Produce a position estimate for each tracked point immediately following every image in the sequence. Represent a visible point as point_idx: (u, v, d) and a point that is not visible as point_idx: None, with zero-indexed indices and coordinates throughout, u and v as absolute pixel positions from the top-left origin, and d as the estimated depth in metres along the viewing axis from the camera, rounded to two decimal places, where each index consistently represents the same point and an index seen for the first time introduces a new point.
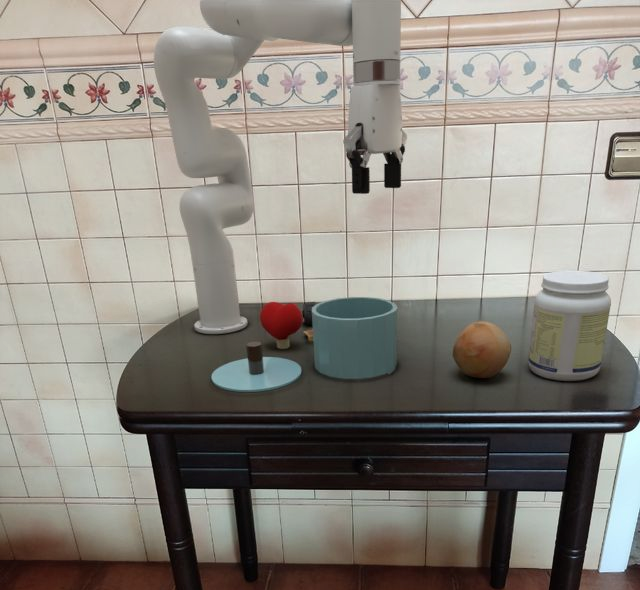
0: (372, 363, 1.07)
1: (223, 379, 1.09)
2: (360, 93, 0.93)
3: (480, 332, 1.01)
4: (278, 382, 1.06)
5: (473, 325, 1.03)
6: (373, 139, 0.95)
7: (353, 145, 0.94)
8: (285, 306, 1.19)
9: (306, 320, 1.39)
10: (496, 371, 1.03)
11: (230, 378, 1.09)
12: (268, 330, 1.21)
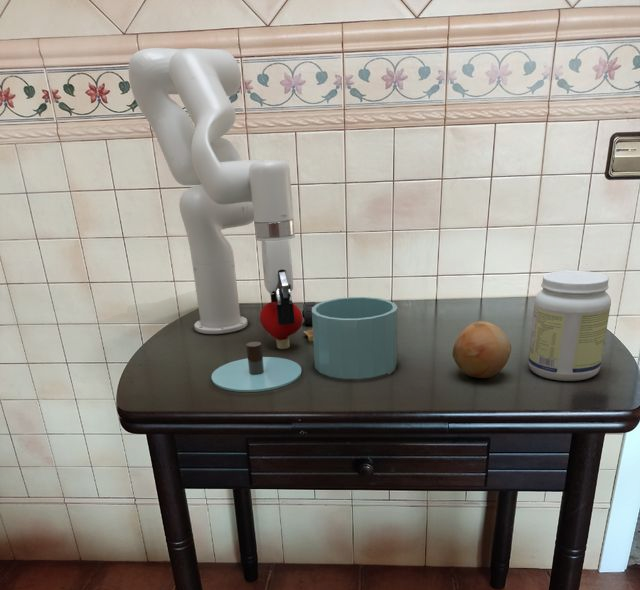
0: (372, 363, 1.07)
1: (223, 379, 1.09)
2: (279, 247, 1.11)
3: (480, 332, 1.01)
4: (278, 382, 1.06)
5: (473, 325, 1.03)
6: (292, 280, 1.15)
7: None
8: None
9: (306, 320, 1.39)
10: (496, 371, 1.03)
11: (230, 378, 1.09)
12: (268, 330, 1.21)
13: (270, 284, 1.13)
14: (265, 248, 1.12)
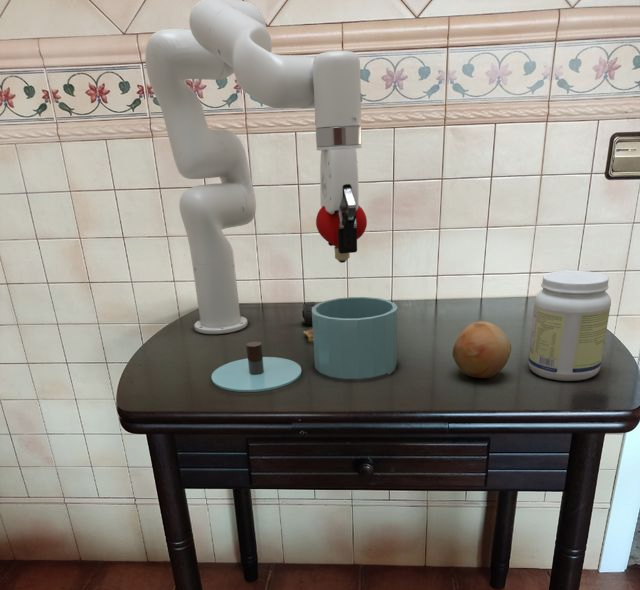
0: (372, 363, 1.07)
1: (223, 379, 1.09)
2: (345, 156, 0.96)
3: (480, 332, 1.01)
4: (278, 382, 1.06)
5: (473, 325, 1.03)
6: None
7: None
8: None
9: (306, 320, 1.39)
10: (496, 371, 1.03)
11: (230, 378, 1.09)
12: (326, 235, 1.03)
13: (333, 202, 0.98)
14: (328, 158, 0.96)
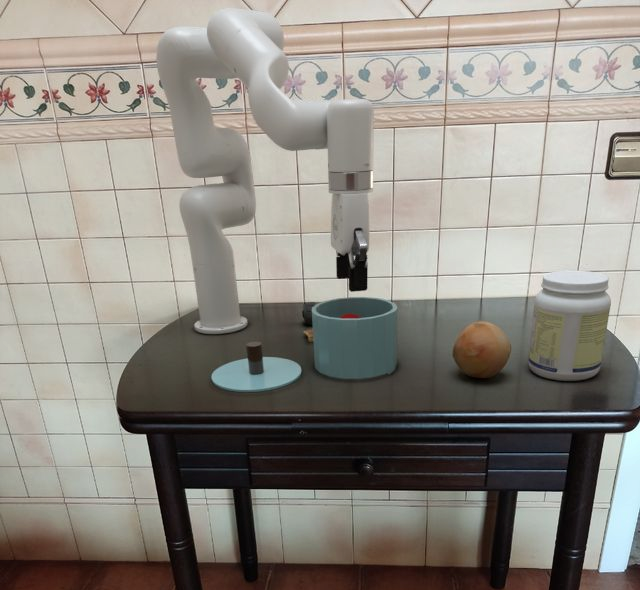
0: (372, 363, 1.07)
1: (223, 379, 1.09)
2: (357, 201, 0.97)
3: (480, 332, 1.01)
4: (278, 382, 1.06)
5: (473, 325, 1.03)
6: (368, 241, 1.01)
7: None
8: None
9: (306, 320, 1.39)
10: (496, 371, 1.03)
11: (230, 378, 1.09)
12: None
13: (344, 244, 1.00)
14: (341, 202, 0.98)
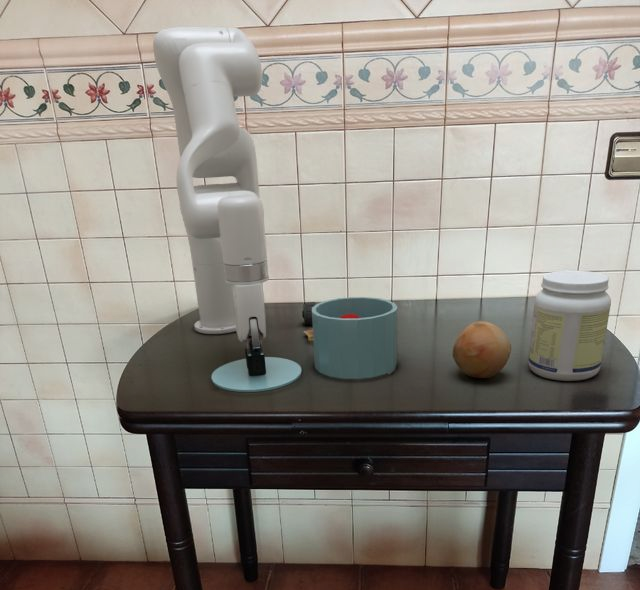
0: (372, 363, 1.07)
1: (223, 379, 1.09)
2: (250, 292, 1.00)
3: (480, 332, 1.01)
4: (278, 382, 1.06)
5: (473, 325, 1.03)
6: (265, 328, 1.04)
7: None
8: None
9: (306, 320, 1.39)
10: (496, 371, 1.03)
11: (230, 378, 1.09)
12: None
13: (240, 332, 1.02)
14: (235, 293, 1.01)
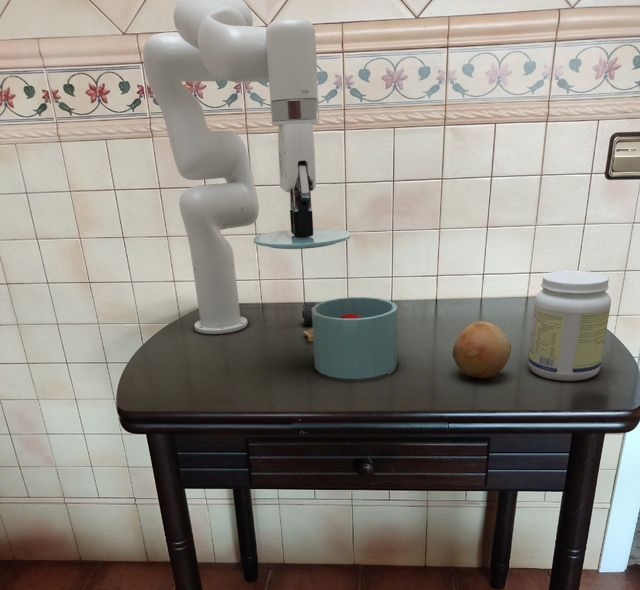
0: (372, 363, 1.07)
1: (266, 240, 1.00)
2: (300, 131, 0.91)
3: (480, 332, 1.01)
4: (327, 239, 0.97)
5: (473, 325, 1.03)
6: (315, 176, 0.95)
7: None
8: None
9: (306, 320, 1.39)
10: (496, 371, 1.03)
11: (274, 239, 1.00)
12: None
13: (288, 179, 0.93)
14: (283, 133, 0.92)
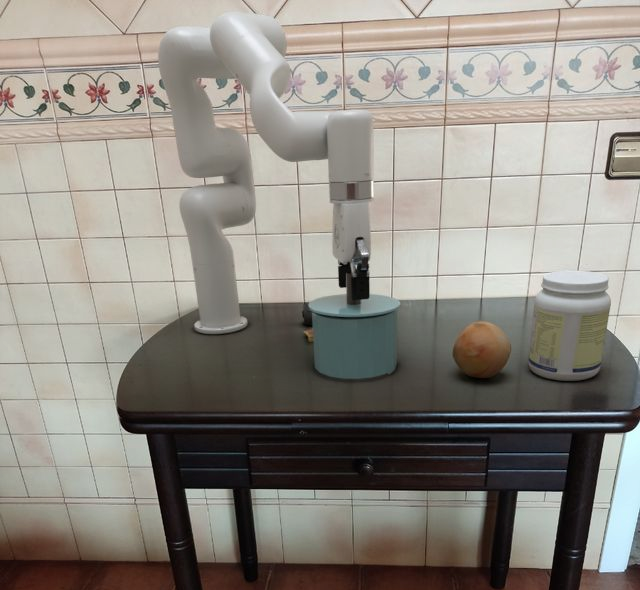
0: (372, 363, 1.07)
1: (322, 307, 1.07)
2: (358, 210, 0.98)
3: (480, 332, 1.01)
4: (381, 309, 1.04)
5: (473, 325, 1.03)
6: None
7: None
8: None
9: (306, 320, 1.38)
10: (496, 371, 1.03)
11: (329, 307, 1.07)
12: None
13: (345, 253, 1.00)
14: (342, 212, 0.99)
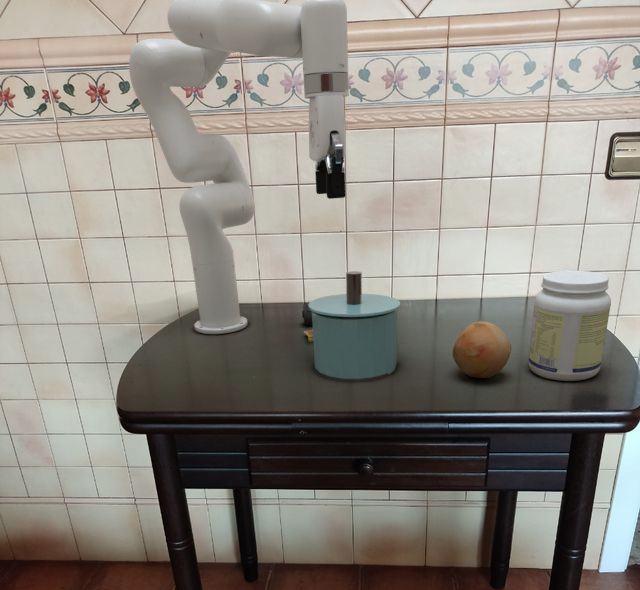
0: (372, 363, 1.07)
1: (322, 307, 1.07)
2: (332, 102, 0.97)
3: (480, 332, 1.01)
4: (381, 309, 1.04)
5: (473, 325, 1.03)
6: (345, 146, 1.01)
7: None
8: None
9: (306, 320, 1.38)
10: (496, 371, 1.03)
11: (329, 307, 1.07)
12: None
13: (320, 148, 1.00)
14: (316, 105, 0.98)
